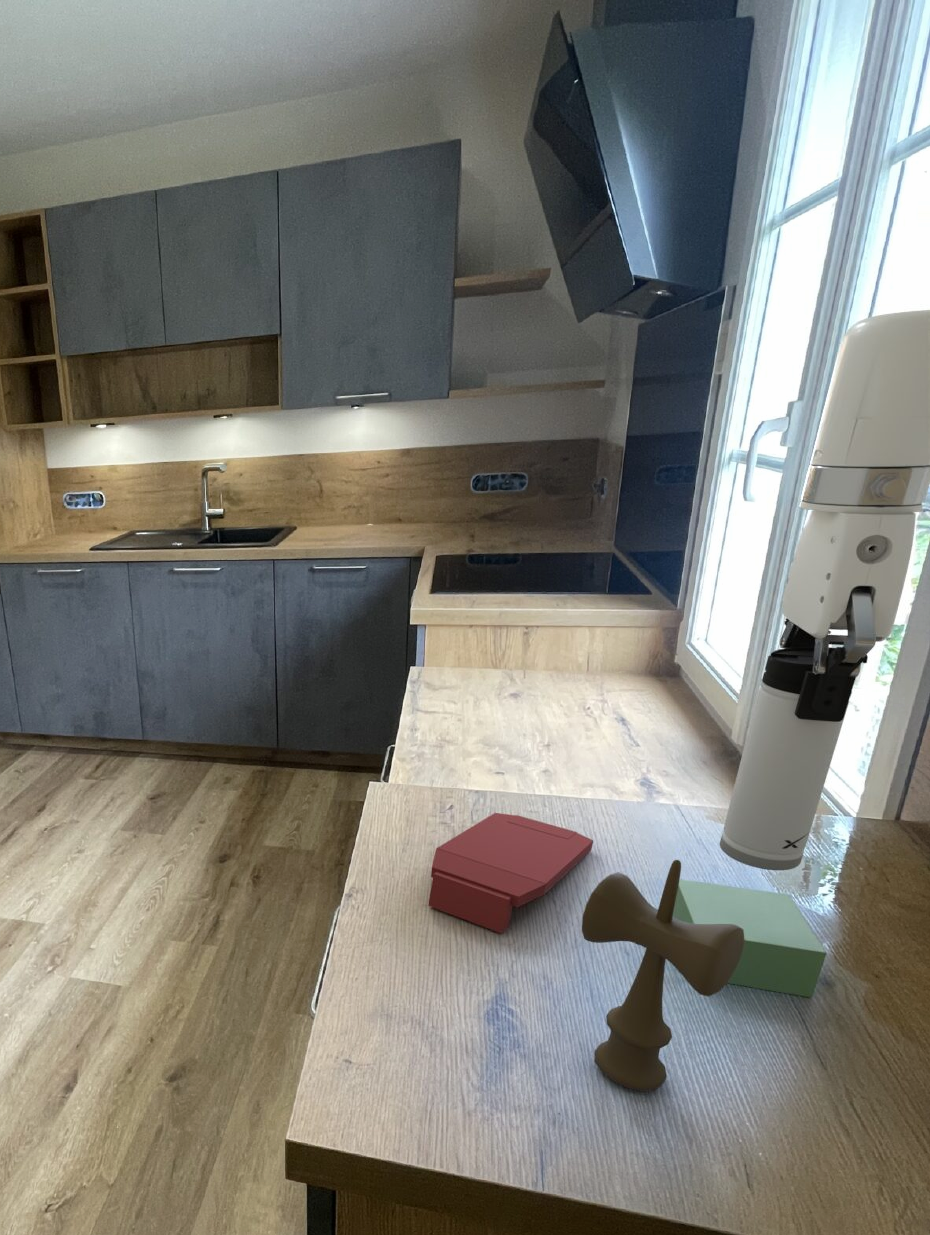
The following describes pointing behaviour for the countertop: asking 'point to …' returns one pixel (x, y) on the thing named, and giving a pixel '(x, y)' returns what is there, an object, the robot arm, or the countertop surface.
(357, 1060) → the countertop surface
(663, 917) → the kendama
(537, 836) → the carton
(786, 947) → the green block
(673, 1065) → the countertop surface
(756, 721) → the travel mug
